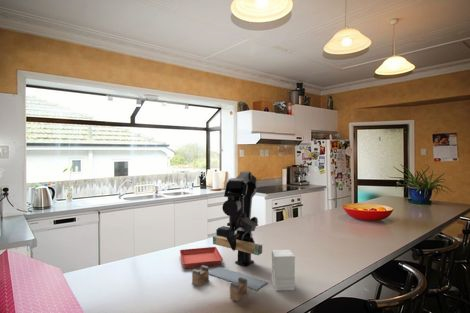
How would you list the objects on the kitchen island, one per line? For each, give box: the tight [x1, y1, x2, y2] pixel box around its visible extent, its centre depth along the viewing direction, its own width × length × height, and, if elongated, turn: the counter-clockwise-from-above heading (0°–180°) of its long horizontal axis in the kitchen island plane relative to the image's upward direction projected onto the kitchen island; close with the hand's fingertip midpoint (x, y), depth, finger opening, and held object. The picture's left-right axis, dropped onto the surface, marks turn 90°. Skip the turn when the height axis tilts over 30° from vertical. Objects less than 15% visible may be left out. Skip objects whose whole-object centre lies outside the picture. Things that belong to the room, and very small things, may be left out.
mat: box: [209, 266, 268, 291], centre depth 109 cm, size 8×24×1 cm, turn 54°
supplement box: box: [271, 249, 296, 292], centre depth 103 cm, size 7×7×13 cm
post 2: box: [229, 277, 248, 302], centre depth 95 cm, size 6×3×5 cm, turn 144°
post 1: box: [191, 265, 210, 287], centre depth 106 cm, size 6×3×5 cm, turn 144°
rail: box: [212, 234, 263, 256], centre depth 109 cm, size 3×22×3 cm, turn 54°
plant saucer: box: [179, 246, 224, 269], centre depth 127 cm, size 18×18×3 cm
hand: (236, 249), depth 109 cm, fingers closed on rail, 3 cm apart
